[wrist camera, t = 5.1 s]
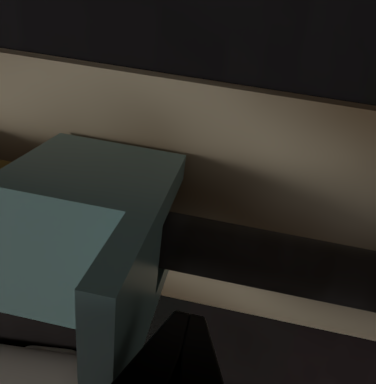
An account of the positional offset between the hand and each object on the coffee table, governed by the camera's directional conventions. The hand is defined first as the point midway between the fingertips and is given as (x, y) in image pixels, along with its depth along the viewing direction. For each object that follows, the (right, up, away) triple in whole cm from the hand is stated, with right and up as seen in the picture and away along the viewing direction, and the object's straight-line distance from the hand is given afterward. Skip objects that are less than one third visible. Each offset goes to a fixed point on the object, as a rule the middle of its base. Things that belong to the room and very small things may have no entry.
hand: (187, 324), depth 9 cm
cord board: (0, +3, +6) cm, 7 cm away
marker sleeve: (-3, +3, +5) cm, 7 cm away
